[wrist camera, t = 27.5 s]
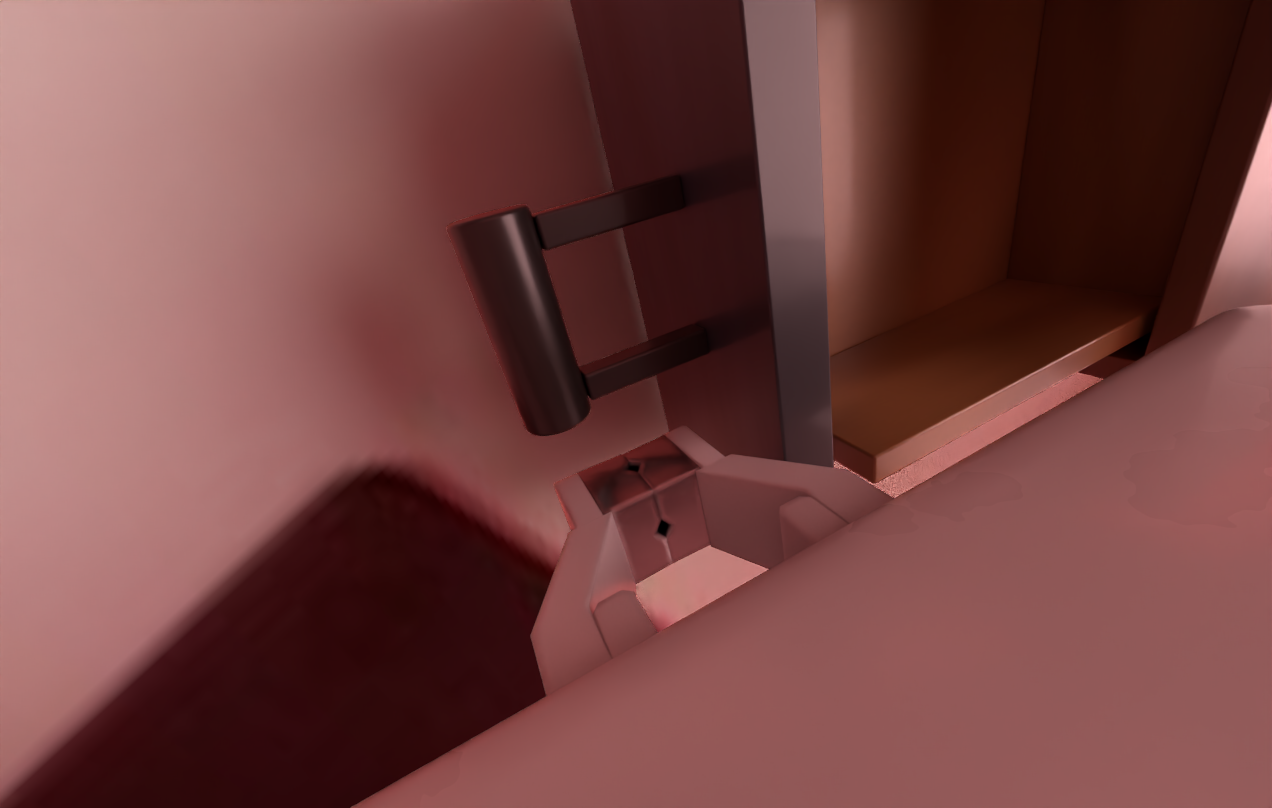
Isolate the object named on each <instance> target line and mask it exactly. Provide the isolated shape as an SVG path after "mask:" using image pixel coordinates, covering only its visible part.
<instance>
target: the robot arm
mask: <svg viewBox="0 0 1272 808" xmlns="http://www.w3.org/2000/svg"><path fill="white" fill-rule="evenodd" d="M553 484H554V488H555V491H556V493H557V496H558V499H559V501H560V504H561V506H562V509H563V512H564V514H565V517H566V519H567V522H568V524H569V527H570V529H571V531H570V532H568V535H567V538H566V541H565V543H564V546H563V549H562V551H561V554H560V557H559V560H558V562H557V565H556V568H555V570H554V573H553V576H552V579H551V581H550V584H549V587H548V589H547V592H546V595H545V598H544V600H543V603H542V606H541V609H540V611H539V614H538V617H537V619H536V622H535V625H534V628H533V630H532V633H531V640H532V643H533V647H534V651H535V655H536V659H537V663H538V666H539V670H540V674H541V678H542V682H543V685H544V689H545V693H546V697H544V698H542V699H541V700H539V701H537V702H535V703H534V704H532V705H530V706H528V707H527V708H525V709H523V710H521V711H520V712H518V713H516V714H514V715H513V716H511V717H509V718H507V719H505V720H504V721H502V722H500V723H498V724H497V725H495V726H493V727H491V728H490V729H488V730H486V731H484V732H483V733H481V734H479V735H477V736H476V737H474V738H472V739H470V740H469V741H467V742H465V743H463V744H462V745H460V746H458V747H456V748H454V749H453V750H451V751H449V752H447V753H446V754H444V755H442V756H440V757H439V758H437V759H435V760H433V761H432V762H430V763H428V764H426V765H425V766H423V767H421V768H419V769H418V770H416V771H414V772H412V773H410V774H409V775H407V776H405V777H403V778H402V779H400V780H398V781H396V782H395V783H393V784H391V785H389V786H388V787H386V788H384V789H382V790H381V791H379V792H377V793H375V794H374V795H372V796H370V797H368V798H366V799H365V800H363V801H361V802H359V803H358V804H356V805H354V806H352V807H351V808H1272V305H1257V306H1248V307H1239V308H1235V309H1231V310H1228V311H1225V312H1222V313H1220V314H1218V315H1216V316H1214V317H1212V318H1210V319H1208V320H1207V321H1205V322H1203V323H1202V324H1200V325H1198V326H1197V327H1195V328H1193V329H1191V330H1190V331H1188V332H1186V333H1184V334H1183V335H1181V336H1179V337H1177V338H1176V339H1174V340H1172V341H1170V342H1168V343H1167V344H1165V345H1163V346H1161V347H1160V348H1158V349H1156V350H1154V351H1153V352H1151V353H1149V354H1147V355H1146V356H1144V357H1142V358H1140V359H1139V360H1137V361H1135V362H1133V363H1132V364H1130V365H1128V366H1126V367H1125V368H1123V369H1121V370H1119V371H1118V372H1116V373H1114V374H1112V375H1110V376H1109V377H1107V378H1105V379H1103V380H1102V381H1100V382H1098V383H1096V384H1095V385H1093V386H1091V387H1089V388H1088V389H1086V390H1084V391H1082V392H1081V393H1079V394H1077V395H1075V396H1074V397H1072V398H1070V399H1068V400H1066V401H1065V402H1063V403H1061V404H1059V405H1058V406H1056V407H1054V408H1052V409H1051V410H1049V411H1047V412H1045V413H1044V414H1042V415H1040V416H1038V417H1037V418H1035V419H1033V420H1031V421H1030V422H1028V423H1026V424H1024V425H1022V426H1021V427H1019V428H1017V429H1015V430H1014V431H1012V432H1010V433H1008V434H1007V435H1005V436H1003V437H1001V438H1000V439H998V440H996V441H994V442H993V443H991V444H989V445H987V446H986V447H984V448H982V449H980V450H978V451H977V452H975V453H973V454H972V455H970V456H968V457H966V458H965V459H963V460H961V461H959V462H958V463H956V464H954V465H952V466H951V467H949V468H947V469H945V470H944V471H942V472H940V473H938V474H937V475H935V476H933V477H931V478H930V479H928V480H926V481H924V482H923V483H921V484H919V485H917V486H916V487H914V488H912V489H910V490H908V491H907V492H905V493H903V494H901V495H900V496H898V497H896V498H892V497H891V496H889V495H888V494H886V493H884V492H883V491H881V490H879V489H878V488H876V487H874V486H873V485H871V484H869V483H868V482H866V481H865V480H863V479H861V478H860V477H858V476H856V475H855V474H853V473H851V472H850V471H848V470H846V469H838V468H831V467H824V466H816V465H809V464H801V463H794V462H787V461H779V460H772V459H764V458H757V457H749V456H742V455H735V454H730V455H728V456H726V457H725V456H724V455H722V454H721V453H720V452H718V451H717V450H716V449H715V448H713V447H712V446H711V445H710V444H708V443H707V442H706V441H705V440H703V439H702V438H701V437H699V436H698V435H697V434H696V433H694V432H693V431H692V430H691V429H689V428H688V427H687V426H680V427H678V428H676V429H674V430H672V431H670V432H668V433H666V434H664V435H662V436H660V437H658V438H656V439H654V440H652V441H649V442H647V443H645V444H643V445H641V446H639V447H637V448H635V449H633V450H630V451H628V452H626V453H624V454H620V455H618V456H616V457H613V458H611V459H608V460H606V461H604V462H601V463H599V464H597V465H594V466H592V467H589V468H587V469H585V470H582V471H580V472H578V473H577V474H576V473H575V474H573V475H570V476H568V477H566V478H564V479H562V480H559V481H557V482H555V483H553ZM710 544H711V546H712V547H714V548H717V549H719V550H722V551H724V552H727V553H729V554H732V555H735V556H737V557H740V558H742V559H745V560H747V561H750V562H752V563H755V564H757V565H760V566H763V567H765V568H768V569H769V570H767V571H766V572H764V573H762V574H760V575H759V576H757V577H755V578H753V579H752V580H750V581H748V582H746V583H745V584H743V585H741V586H739V587H738V588H736V589H734V590H732V591H731V592H729V593H727V594H725V595H723V596H722V597H720V598H718V599H716V600H715V601H713V602H711V603H709V604H708V605H706V606H704V607H702V608H701V609H699V610H697V611H695V612H694V613H692V614H690V615H688V616H687V617H685V618H683V619H681V620H680V621H678V622H676V623H674V624H673V625H671V626H669V627H667V628H666V629H664V630H662V631H660V632H659V633H657V631H656V629H655V628H654V626H653V624H652V623H651V621H650V619H649V618H648V616H647V614H646V612H645V611H644V609H643V607H642V606H641V604H640V602H639V600H638V599H637V597H636V584H637V583H639V582H640V581H642V580H644V579H646V578H647V577H649V576H651V575H653V574H654V573H656V572H658V571H660V570H662V569H663V568H665V567H667V566H669V565H670V564H672V563H674V562H676V561H678V560H680V559H682V558H684V557H686V556H688V555H690V554H692V553H694V552H696V551H698V550H700V549H702V548H704V547H706V546H708V545H710Z"/></svg>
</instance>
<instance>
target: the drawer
mask: <svg viewBox="0 0 1272 808" xmlns="http://www.w3.org/2000/svg"><path fill="white" fill-rule="evenodd" d="M1250 1H1251V0H570V3H571V7H572V11H573V16H574V20H575V24H576V29H577V33H578V37H579V42H580V46H581V50H582V55H583V59H584V64H585V68H586V72H587V77H588V81H589V85H590V90H591V94H592V98H593V103H594V107H595V111H596V116H597V120H598V124H599V129H600V133H601V138H602V142H603V146H604V151H605V155H606V159H607V164H608V168H609V172H610V177H611V181H612V185H613V191H610V192H606V193H603V194H599V195H596V196H592V197H589V198H585V199H581V200H578V201H574V202H571V203H567V204H564V205H560V206H557V207H553V208H550V209H546V210H542V211H539V212H535V213H532V214H531V212H530V208H529V207H528V206H527V205H526V204H517V205H512V206H508V207H504V208H500V209H496V210H492V211H488V212H484V213H481V214H477V215H474V216H470V217H467V218H463V219H460V220H457V221H454V222H452V223H450V224H449V225H447V233H448V236H449V238H450V241H451V243H452V246H453V248H454V251H455V253H456V256H457V259H458V261H459V264H460V266H461V269H462V271H463V274H464V276H465V279H466V281H467V284H468V286H469V289H470V291H471V294H472V296H473V299H474V301H475V304H476V306H477V309H478V311H479V314H480V316H481V319H482V322H483V324H484V327H485V329H486V332H487V334H488V337H489V339H490V342H491V344H492V347H493V349H494V352H495V354H496V357H497V359H498V362H499V364H500V367H501V369H502V372H503V374H504V377H505V379H506V382H507V385H508V387H509V390H510V392H511V395H512V397H513V400H514V402H515V405H516V407H517V410H518V412H519V415H520V417H521V420H522V422H523V425H524V427H525V429H526V430H527V431H528V432H529V433H531V434H533V435H537V436H549V435H555V434H559V433H562V432H565V431H568V430H570V429H572V428H574V427H576V426H577V425H579V424H580V423H582V422H583V421H584V420H585V419H586V418H587V417H588V415H589V413H590V410H591V404H590V401H589V398H588V396H589V397H590V398H591V399H592V400H595V399H598V398H600V397H603V396H605V395H608V394H610V393H613V392H615V391H618V390H620V389H622V388H625V387H627V386H630V385H632V384H635V383H637V382H640V381H642V380H645V379H647V378H650V377H652V376H655V375H656V377H657V381H658V385H659V390H660V394H661V399H662V403H663V407H664V412H665V416H666V420H667V425H668V429H669V432H670V431H672V430H674V429H676V428H678V427H680V426H687V427H688V428H689V429H691V430H692V431H693V432H694V433H696V434H697V435H698V436H699V437H701V438H702V439H703V440H705V441H706V442H707V443H708V444H710V445H711V446H712V447H713V448H715V449H716V450H717V451H718V452H720V453H721V454H722V455H724V456H725V457H726V456H728V455H730V454H735V455H742V456H749V457H757V458H764V459H772V460H779V461H787V462H794V463H801V464H809V465H816V466H824V467H831V468H834V460H835V461H837V462H838V463H840V464H842V465H843V466H845V467H847V468H848V469H850V470H852V471H853V472H855V473H857V474H858V475H860V476H862V477H863V478H865V479H867V480H868V481H870V482H872V483H877V482H879V481H881V480H883V479H884V478H886V477H888V476H890V475H892V474H893V473H895V472H897V471H899V470H901V469H903V468H904V467H906V466H908V465H910V464H912V463H913V462H915V461H917V460H919V459H921V458H923V457H924V456H926V455H928V454H930V453H932V452H933V451H935V450H937V449H939V448H941V447H942V446H944V445H946V444H948V443H950V442H952V441H953V440H955V439H957V438H959V437H961V436H962V435H964V434H966V433H968V432H970V431H972V430H973V429H975V428H977V427H979V426H981V425H982V424H984V423H986V422H988V421H990V420H992V419H993V418H995V417H997V416H999V415H1001V414H1002V413H1004V412H1006V411H1008V410H1010V409H1011V408H1013V407H1015V406H1017V405H1019V404H1021V403H1022V402H1024V401H1026V400H1028V399H1030V398H1031V397H1033V396H1035V395H1037V394H1039V393H1041V392H1042V391H1044V390H1046V389H1048V388H1050V387H1051V386H1053V385H1055V384H1057V383H1059V382H1060V381H1062V380H1064V379H1066V378H1068V377H1070V376H1071V375H1073V374H1075V373H1077V372H1079V371H1080V370H1082V369H1084V368H1086V367H1088V366H1090V365H1091V364H1093V363H1095V362H1097V361H1099V360H1100V359H1102V358H1104V357H1106V356H1108V355H1110V354H1111V353H1113V352H1115V351H1117V350H1119V349H1120V348H1122V347H1124V346H1126V345H1128V344H1129V343H1131V342H1133V341H1135V340H1137V339H1139V338H1140V337H1142V336H1144V335H1146V334H1148V333H1149V332H1151V331H1152V329H1153V325H1154V322H1155V319H1156V315H1157V312H1158V309H1159V305H1160V302H1161V299H1162V295H1163V292H1164V289H1165V285H1166V282H1167V279H1168V275H1169V272H1170V269H1171V265H1172V262H1173V259H1174V255H1175V252H1176V249H1177V245H1178V242H1179V239H1180V235H1181V232H1182V228H1183V225H1184V222H1185V218H1186V215H1187V212H1188V208H1189V205H1190V202H1191V198H1192V195H1193V192H1194V188H1195V185H1196V182H1197V178H1198V175H1199V172H1200V168H1201V165H1202V162H1203V158H1204V155H1205V152H1206V148H1207V145H1208V142H1209V138H1210V135H1211V131H1212V128H1213V125H1214V121H1215V118H1216V115H1217V111H1218V108H1219V105H1220V101H1221V98H1222V95H1223V91H1224V88H1225V85H1226V81H1227V78H1228V75H1229V71H1230V68H1231V65H1232V61H1233V58H1234V55H1235V51H1236V48H1237V45H1238V41H1239V38H1240V34H1241V31H1242V28H1243V24H1244V21H1245V18H1246V14H1247V11H1248V8H1249V4H1250ZM619 228H622V229H623V233H624V238H625V242H626V246H627V251H628V255H629V259H630V264H631V268H632V272H633V277H634V281H635V285H636V290H637V294H638V298H639V303H640V307H641V312H642V316H643V320H644V325H645V329H646V333H647V338H648V341H646V342H643V343H640V344H638V345H635V346H633V347H630V348H627V349H625V350H622V351H620V352H617V353H614V354H612V355H609V356H606V357H604V358H601V359H599V360H596V361H593V362H591V363H588V364H586V365H583V366H580V367H579V366H578V362H577V359H576V356H575V353H574V350H573V346H572V343H571V340H570V337H569V334H568V330H567V327H566V324H565V321H564V318H563V314H562V311H561V308H560V305H559V301H558V298H557V295H556V292H555V289H554V285H553V282H552V279H551V276H550V273H549V269H548V266H547V263H546V260H545V257H544V253H543V250H542V249H544V250H551V249H554V248H557V247H561V246H564V245H567V244H570V243H574V242H577V241H580V240H583V239H587V238H590V237H593V236H596V235H600V234H603V233H606V232H609V231H613V230H616V229H619Z"/></svg>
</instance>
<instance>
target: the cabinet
mask: <svg viewBox="0 0 1272 808" xmlns="http://www.w3.org/2000/svg"><path fill="white" fill-rule="evenodd" d="M1257 305H1272V0H1251V1H1250V4H1249V8H1248V11H1247V14H1246V18H1245V21H1244V24H1243V28H1242V31H1241V34H1240V38H1239V41H1238V45H1237V48H1236V51H1235V55H1234V58H1233V61H1232V65H1231V68H1230V71H1229V75H1228V78H1227V81H1226V85H1225V88H1224V91H1223V95H1222V98H1221V101H1220V105H1219V108H1218V111H1217V115H1216V118H1215V121H1214V125H1213V128H1212V131H1211V135H1210V138H1209V142H1208V145H1207V148H1206V152H1205V155H1204V158H1203V162H1202V165H1201V168H1200V172H1199V175H1198V178H1197V182H1196V185H1195V188H1194V192H1193V195H1192V198H1191V202H1190V205H1189V208H1188V212H1187V215H1186V218H1185V222H1184V225H1183V228H1182V232H1181V235H1180V239H1179V242H1178V245H1177V249H1176V252H1175V255H1174V259H1173V262H1172V265H1171V269H1170V272H1169V275H1168V279H1167V282H1166V285H1165V289H1164V292H1163V295H1162V299H1161V302H1160V305H1159V309H1158V312H1157V315H1156V319H1155V322H1154V325H1153V329H1152V331H1151V332H1149V333H1148V334H1146V335H1144V336H1142V337H1140V338H1139V339H1137V340H1135V341H1133V342H1131V343H1129V344H1128V345H1126V346H1124V347H1122V348H1120V349H1119V350H1117V351H1115V352H1113V353H1111V354H1110V355H1108V356H1106V357H1104V358H1102V359H1100V360H1099V361H1097V362H1095V363H1093V364H1091V365H1090V366H1088V367H1086V368H1084V369H1082V370H1080V371H1079V373H1083V374H1087V375H1091V376H1095V377H1099V378H1103V379H1105V378H1107V377H1109V376H1110V375H1112V374H1114V373H1116V372H1118V371H1119V370H1121V369H1123V368H1125V367H1126V366H1128V365H1130V364H1132V363H1133V362H1135V361H1137V360H1139V359H1140V358H1142V357H1144V356H1146V355H1147V354H1149V353H1151V352H1153V351H1154V350H1156V349H1158V348H1160V347H1161V346H1163V345H1165V344H1167V343H1168V342H1170V341H1172V340H1174V339H1176V338H1177V337H1179V336H1181V335H1183V334H1184V333H1186V332H1188V331H1190V330H1191V329H1193V328H1195V327H1197V326H1198V325H1200V324H1202V323H1203V322H1205V321H1207V320H1208V319H1210V318H1212V317H1214V316H1216V315H1218V314H1220V313H1222V312H1225V311H1228V310H1231V309H1235V308H1239V307H1248V306H1257Z"/></svg>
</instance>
